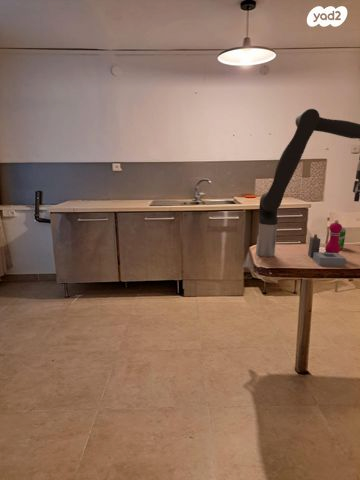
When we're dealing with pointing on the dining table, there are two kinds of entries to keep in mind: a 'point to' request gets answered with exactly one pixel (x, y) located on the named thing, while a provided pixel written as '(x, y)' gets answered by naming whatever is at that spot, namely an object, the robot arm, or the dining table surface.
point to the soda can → (342, 238)
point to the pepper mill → (334, 238)
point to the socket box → (329, 259)
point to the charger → (313, 245)
